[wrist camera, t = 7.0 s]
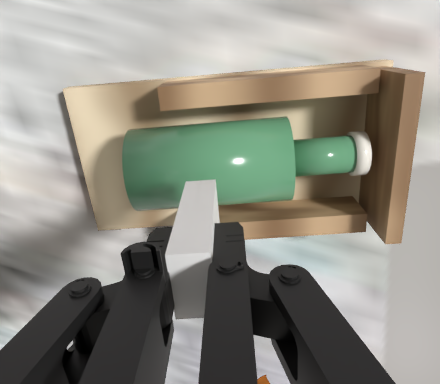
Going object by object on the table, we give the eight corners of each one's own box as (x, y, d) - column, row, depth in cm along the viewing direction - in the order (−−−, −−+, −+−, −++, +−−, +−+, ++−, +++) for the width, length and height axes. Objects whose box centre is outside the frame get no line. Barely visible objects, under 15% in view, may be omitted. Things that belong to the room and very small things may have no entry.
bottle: (131, 224, 21) (377, 207, 21) (116, 136, 20) (383, 115, 19) (150, 195, 27) (348, 181, 26) (139, 123, 25) (350, 106, 24)
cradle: (102, 223, 29) (73, 267, 24) (69, 86, 25) (23, 100, 19) (371, 205, 28) (408, 246, 23) (385, 59, 24) (435, 65, 18)
